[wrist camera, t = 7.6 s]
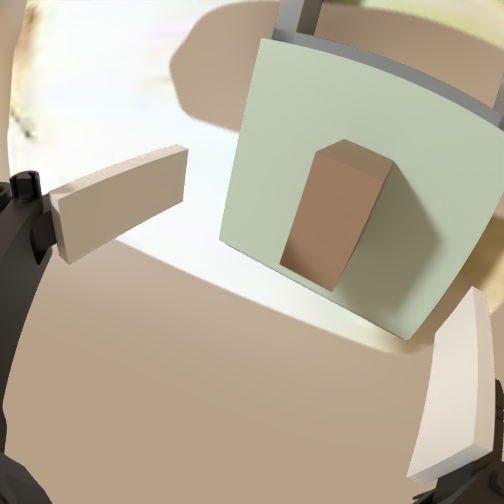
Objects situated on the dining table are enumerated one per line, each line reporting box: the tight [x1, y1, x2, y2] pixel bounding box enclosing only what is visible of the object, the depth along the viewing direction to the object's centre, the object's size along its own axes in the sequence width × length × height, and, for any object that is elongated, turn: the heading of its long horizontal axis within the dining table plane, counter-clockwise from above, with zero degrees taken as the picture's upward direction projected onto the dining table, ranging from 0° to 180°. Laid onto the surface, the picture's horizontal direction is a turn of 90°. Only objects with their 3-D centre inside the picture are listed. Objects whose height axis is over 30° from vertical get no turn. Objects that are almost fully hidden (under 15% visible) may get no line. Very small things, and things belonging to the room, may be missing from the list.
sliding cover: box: [219, 38, 504, 341], centre depth 16 cm, size 15×16×6 cm
